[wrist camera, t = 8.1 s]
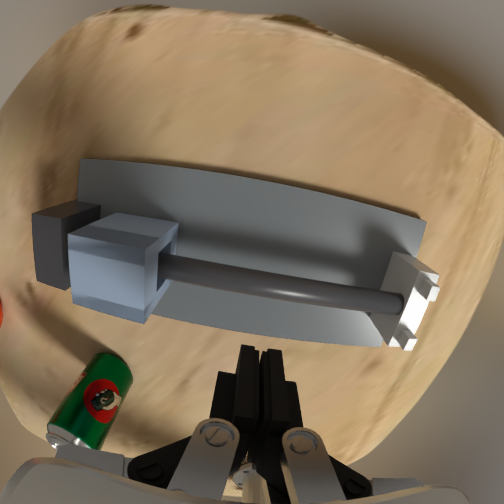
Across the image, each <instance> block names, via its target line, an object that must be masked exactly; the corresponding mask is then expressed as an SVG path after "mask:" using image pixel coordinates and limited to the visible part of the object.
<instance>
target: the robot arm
mask: <svg viewBox="0 0 504 504" xmlns="http://www.w3.org/2000/svg"><path fill="white" fill-rule="evenodd" d="M247 451H248V457H247V461H248V462H250V463H248V464H245V465H242V466H241V463H242V462H244V459H245V457H246V454H247ZM232 474H233V482H234V483H235V484H236V485H238V486H239V487H241V488H243V490H242V502H233V501H225V500H221V498H222V495H223V492H224V489H225V485H226V482H227V479H228V476H230V475H232ZM0 504H472V503H471V501H470V499H469V498H468V496H467V495H466V494H465V493H464V492H463V491H462V490H461V489H459V488H457V487H453V486H448V485H426V486H424V484H423V483H422V482H421V481H420V480H418V479H416V478H372V479H371V480H368V479H366V478H365V477H364V476H363V475H361V474H359V473H357V472H356V471H354V470H352V469H351V468H349V467H347V466H346V465H344V464H342V463H341V462H339V461H338V460H336V459H334V458H333V457H331V456H330V455H328V453H327V451H326V448H325V446H324V443H323V441H322V439H321V437H320V436H319V435H318V434H317V433H316V432H315V431H313V430H311V429H308V428H304V427H303V422H302V416H301V410H300V403H299V397H298V391H297V385H296V383H295V382H293V381H285V375H284V366H283V358H282V351H281V350H275V349H268V350H267V352H265V351H263V352H262V355H261V359H260V363H259V350H255V347H254V346H249V345H241V349H240V353H239V358H238V363H237V368H236V373H235V374H232V373H227V372H221V371H218V376H217V381H216V386H215V391H214V396H213V401H212V407H211V412H210V417H209V419H206V420H203V421H202V422H200V423H199V424H198V425H197V427H196V428H195V430H194V432H193V435H192V436H189V437H187V438H185V439H182V440H180V441H177V442H175V443H172V444H170V445H167V446H165V447H162V448H159V449H157V450H154V451H151V452H148V453H146V454H143V455H140V456H137V457H135V458H127V457H124V455H122V454H116V453H110V452H105V451H100V450H95V449H91V448H86V447H82V446H78V445H73V444H67V445H63V446H62V447H60V448H59V449H58V451H57V453H56V456H55V458H53V457H36V458H32V459H30V460H28V461H26V462H25V463H24V464H22V465H21V466H20V467H19V468H18V469H17V471H16V472H15V473H14V474H13V475H12V477H11V478H10V480H9V481H8V482H7V484H6V486H5V487H4V489H3V490H2V492H1V494H0Z"/></svg>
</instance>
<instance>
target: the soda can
mask: <svg viewBox="0 0 504 504" xmlns="http://www.w3.org/2000/svg"><path fill="white" fill-rule="evenodd" d="M132 383H133V377H132V374H131V371H130V369H129V367H128V366H127V365H126V364H125V362H123V361H122V360H121V359H120V358H118V357H117V356H115V355H112V354H109V353H98V354H96V355H94V356H93V358H92V359H91V360H90V362H89V363H88V365H87V366H86V367H85V369H84V370H83V372H82V373H81V374H80V376H79V377H78V379H77V380H76V382H75V383H74V384H73V386H72V387H71V389H70V390H69V392H68V393H67V395H66V396H65V398H64V399H63V401H62V402H61V404H60V405H59V407H58V408H57V410H56V411H55V413H54V414H53V416H52V417H51V419H50V421H49V422H48V424H47V430H48V433H47V434H46V439H47V440H48V442H49V443H50V444H51V445H52V446H53V447H54V448H55V449H56V450H57V451H58V449H59V448H60V447H62V446H63V445H67V444H73V445H78V446H82V447H86V448H91V449H95V450H101V448H102V446H103V444H104V441H105V439H106V437H107V435H108V433H109V430H110V428H111V426H112V424H113V422H114V420H115V418H116V416H117V413H118V411H119V409H120V407H121V405H122V403H123V401H124V399H125V397H126V395H127V393H128V391H129V389H130V387H131V385H132Z"/></svg>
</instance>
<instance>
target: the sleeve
mask: <svg viewBox="0 0 504 504" xmlns="http://www.w3.org/2000/svg"><path fill="white" fill-rule="evenodd" d="M178 226H179V222H173V221H167V220H161V219H155V218H148V217H142V216H136V215H130V214H124V213H114V214H112V215H110V216H107V217H105V218H102V219H100V220H98V221H95V222H93V223H91V224H88V225H86V226H84V227H82V228H79V229H77V230H75V231H73V232H71V233H69V234H68V255H69V271H70V282H71V292H72V300H73V303H74V304H77V305H80V306H83V307H86V308H89V309H93V310H96V311H99V312H102V313H106V314H109V315H113V316H116V317H120V318H123V319H127V320H131V321H134V322H138V323H142V324H144V323H145V322H146V320H147V319H148V317H149V316H150V314H151V313H152V311H153V309H154V308H155V306H156V305H157V303H158V302H159V300H160V299H161V297H162V296H163V294H164V293H165V291H166V290H167V288H168V287H169V285H170V284H171V282H172V281H173V280H168V279H163V278H158V277H157V270H158V254H159V252H162V253H167V254H173V255H176V244H177V235H178Z"/></svg>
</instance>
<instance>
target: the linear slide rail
mask: <svg viewBox="0 0 504 504" xmlns="http://www.w3.org/2000/svg"><path fill="white" fill-rule="evenodd" d="M114 213H124V214H130V215H136V216H142V217H148V218H155V219H161V220H167V221H173V222H179V226H178V235H177V244H176V255H173V254H167V253H162V252H159V254H158V270H157V277H158V278H163V279H168V280H173V281H172V282H171V284H170V285H169V287H168V288H167V290H166V291H165V293H164V294H163V296H162V297H161V299H160V300H159V302H158V303H157V305H156V306H155V308H154V309H153V311H152V313H151V314H154V315H158V316H162V317H167V318H171V319H176V320H180V321H185V322H190V323H195V324H200V325H205V326H210V327H215V328H221V329H226V330H232V331H238V332H244V333H250V334H257V335H264V336H270V337H278V338H285V339H293V340H301V341H310V342H320V343H330V344H341V345H354V346H369V347H381V345H382V342H383V340H384V341H385V342H386V344H387V346H396V347H401V348H402V349H403V350H408V351H412V349H413V347H414V345H415V343H416V341H417V338H416V337H415V335H414V334H415V332H416V330H417V328H418V326H419V324H420V322H421V319H422V317H423V315H424V313H425V310H426V308H427V306H428V303H429V301H435V300H436V297H437V295H438V292H439V290H440V287H439V286H438V285H436V283H437V281H438V278H439V274H438V273H436V272H435V271H433V270H432V269H431V268H429V267H428V266H426V265H425V264H423V263H422V262H421V261H419V260H418V259H416V257H417V253H418V250H419V247H420V244H421V240H422V237H423V233H424V230H425V226H426V221H424V220H421V219H418V218H415V217H412V216H408V215H405V214H402V213H398V212H395V211H391V210H388V209H385V208H381V207H377V206H374V205H370V204H366V203H363V202H359V201H355V200H351V199H347V198H343V197H339V196H335V195H331V194H327V193H322V192H318V191H314V190H309V189H305V188H300V187H295V186H291V185H286V184H281V183H276V182H271V181H266V180H260V179H255V178H249V177H244V176H238V175H232V174H226V173H220V172H213V171H207V170H200V169H192V168H185V167H177V166H169V165H160V164H151V163H141V162H131V161H119V160H105V159H89V158H82V159H80V167H79V178H78V193H77V200H74V201H70V202H67V203H63V204H60V205H57V206H53V207H50V208H47V209H44V210H41V211H38V212H34V213H32V236H33V251H34V261H35V270H36V278H37V281H39V282H41V283H44V284H47V285H50V286H53V287H56V288H59V289H62V290H65V291H66V290H67V289H68V288H69V287H71V282H70V271H69V255H68V234H69V233H71V232H73V231H75V230H77V229H79V228H82V227H84V226H86V225H88V224H91V223H93V222H95V221H98V220H100V219H102V218H105V217H107V216H110V215H112V214H114Z"/></svg>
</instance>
